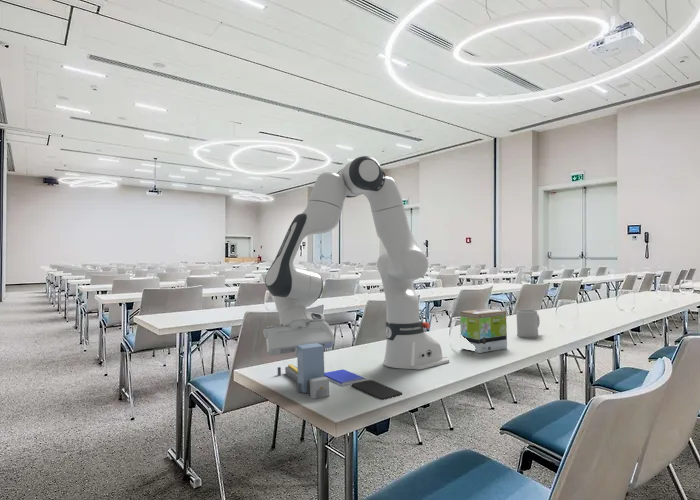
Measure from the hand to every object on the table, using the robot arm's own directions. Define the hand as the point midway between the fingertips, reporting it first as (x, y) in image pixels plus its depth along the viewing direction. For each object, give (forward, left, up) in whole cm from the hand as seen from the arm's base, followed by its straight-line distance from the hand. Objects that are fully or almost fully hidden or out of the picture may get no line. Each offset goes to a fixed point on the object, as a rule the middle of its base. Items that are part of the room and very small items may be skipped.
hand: (307, 362), depth 117 cm
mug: (-111, -20, -7) cm, 113 cm away
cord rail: (0, -4, -7) cm, 8 cm away
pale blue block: (0, +3, -7) cm, 8 cm away
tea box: (-75, -10, -7) cm, 76 cm away
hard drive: (-12, -2, -8) cm, 14 cm away
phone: (-15, +13, -7) cm, 21 cm away
